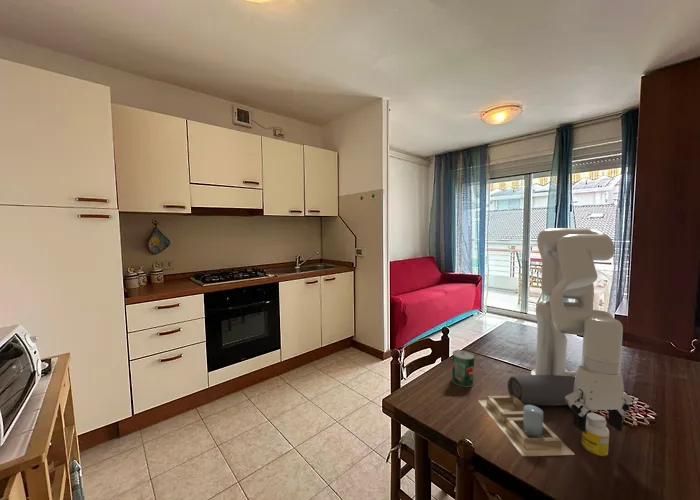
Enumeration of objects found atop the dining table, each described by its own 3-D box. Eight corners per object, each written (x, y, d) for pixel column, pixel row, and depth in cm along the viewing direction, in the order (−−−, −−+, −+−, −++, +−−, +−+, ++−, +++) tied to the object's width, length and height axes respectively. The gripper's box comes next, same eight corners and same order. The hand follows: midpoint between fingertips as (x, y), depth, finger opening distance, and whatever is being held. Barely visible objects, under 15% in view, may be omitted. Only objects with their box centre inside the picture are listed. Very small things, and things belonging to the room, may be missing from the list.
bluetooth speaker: (566, 397, 102) (568, 370, 101) (590, 413, 92) (592, 383, 92) (505, 397, 100) (507, 369, 100) (522, 413, 91) (524, 383, 91)
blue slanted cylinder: (534, 430, 82) (535, 404, 82) (545, 442, 78) (547, 415, 77) (518, 431, 82) (520, 404, 82) (529, 443, 78) (530, 415, 77)
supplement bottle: (575, 445, 79) (578, 411, 78) (594, 443, 79) (596, 410, 78) (594, 461, 73) (596, 424, 72) (613, 459, 74) (616, 423, 73)
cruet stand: (477, 403, 97) (477, 393, 97) (517, 402, 98) (517, 392, 98) (522, 460, 73) (523, 447, 73) (575, 458, 74) (575, 445, 74)
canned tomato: (475, 388, 107) (476, 359, 106) (453, 385, 108) (454, 357, 107) (471, 377, 114) (471, 350, 114) (450, 375, 116) (451, 349, 115)
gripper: (618, 358, 78) (614, 418, 79) (557, 358, 78) (554, 419, 78) (648, 371, 71) (643, 437, 72) (580, 371, 70) (577, 438, 71)
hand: (597, 427), depth 75 cm, fingers open, 9 cm apart
